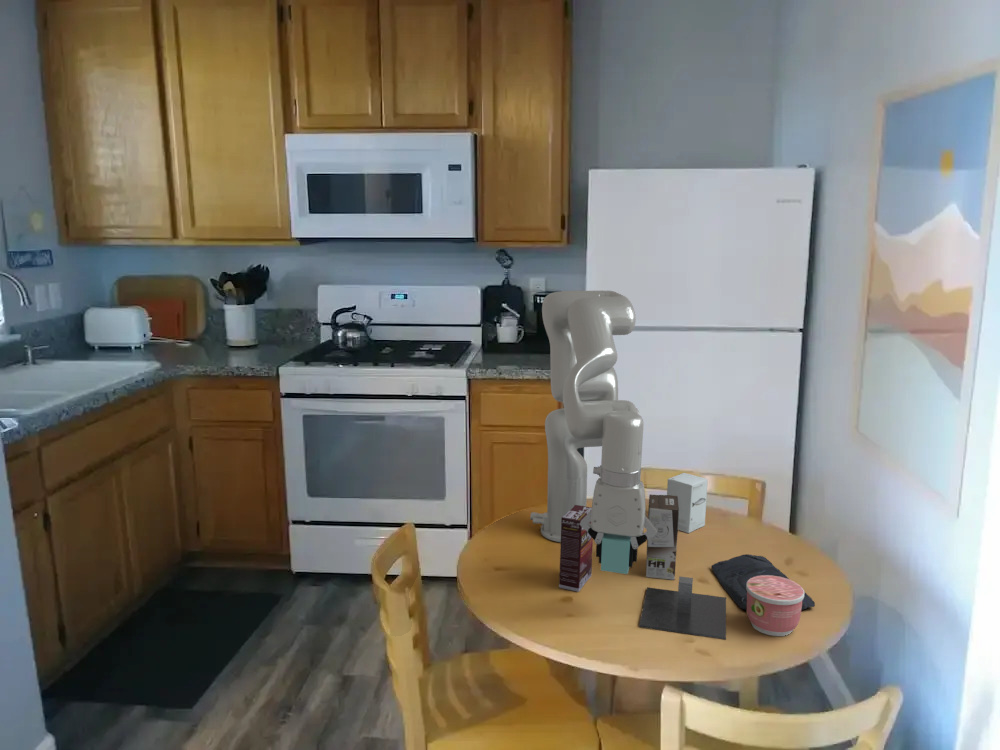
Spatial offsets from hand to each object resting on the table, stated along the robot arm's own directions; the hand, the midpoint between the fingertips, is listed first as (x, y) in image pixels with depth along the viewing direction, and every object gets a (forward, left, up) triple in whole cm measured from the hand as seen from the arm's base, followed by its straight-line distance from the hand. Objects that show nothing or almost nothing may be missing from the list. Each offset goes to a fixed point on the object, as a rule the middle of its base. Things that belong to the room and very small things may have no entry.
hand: (616, 561), depth 154 cm
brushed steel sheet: (+13, +3, -11) cm, 17 cm away
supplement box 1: (-10, +10, -11) cm, 18 cm away
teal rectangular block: (0, 0, -1) cm, 1 cm away
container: (+30, +3, -11) cm, 32 cm away
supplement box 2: (+11, +48, -11) cm, 51 cm away
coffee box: (+7, +21, -11) cm, 25 cm away
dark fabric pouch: (+28, +18, -11) cm, 35 cm away
